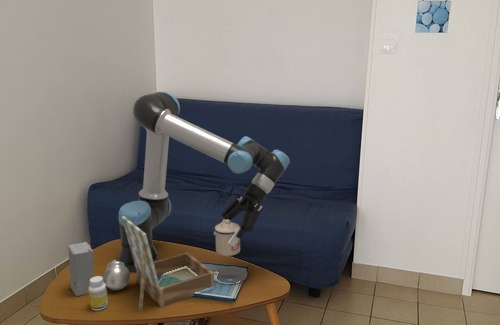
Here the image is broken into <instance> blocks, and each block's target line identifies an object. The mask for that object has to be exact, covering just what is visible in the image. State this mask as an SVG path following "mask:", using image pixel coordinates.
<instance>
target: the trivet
mask: <svg viewBox="0 0 500 325" xmlns="http://www.w3.org/2000/svg"><path fill="white" fill-rule="evenodd" d="M215 271H217V272H219V273H218V276H217V279H218V280H219V281H221V282H225V283H236V282H239V281H242V282H241V283H244V282H245V281H246V280H247V277H248V272H247V271H246V269H244V268H242V267H239V266H233V265H232V266H223V267H221V268H218V269H216V270H215ZM215 275H217V274H215Z"/></svg>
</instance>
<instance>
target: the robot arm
mask: <svg viewBox="0 0 500 325" xmlns="http://www.w3.org/2000/svg"><path fill="white" fill-rule="evenodd" d="M180 111H181V106H180V102H179V100H178V99H177V97H176V96H175V95H174V94H172V93H170V92H167V91H157V92H154V93H150V94H144V95H142V96H140V97H139V98H137V100H136V101H135V103H134V104H133V108H132V113H133V117H134V119H135V121H136V122H137V123H138V124H139V125H140V126H141V127H142V128H144V129H145V130H146V140H145V142H146V143H145V152H144V154H145V156H144V158H145V159H144V170H143V171H144V172H143V185H142V189H140V191H138V196H137V198H138V200H134V201H131V202H127V203H125V204H123V205H122V206H121V207H120V209H119V210H118V222H119V223H118V224H119V234H120V244H121V246H120V251H119V254H118V258H117V260H118V261H121V262H123V263H124V265H125V266H126V267H127V268H128V270H129V272H130V273H137V271H136V267H135V264H134V260H133V256H132V253H131V249H130V245H129V242H128V238H127V234H126V231H125V227H124V224H123V220H122V217H123V216H124V217H126V218H127V219H128V220H129V221H131V222H132V223H133V224H134V225H136V226H137V227H138V228H139V229H141V230H142V231H143V232H144V233H146V236H147V240H148V243H149V247H150V251H151V255H152V259H153V262H154V261H158V260H159V254H158V251H157V250H156V247H155V245H154V243H153V230H154V228H156V227H157V226H159V225H160V224H161V223H163V222H164V221H165V220H166V219H168V216H170V213H171V210H172V203H171V200H170V199H169V193H168V192H167V190H166V189H165V188H166V179H167V166H168V154H169V144H170V138H172V139H173V140H175V141H177V142H179V143H182V144H183V145H185V146H188V147H190V148H192V149H194V150H196V151H198V152H200V153H203V154H205V155H207V156H208V157H211V158H213V159H215V160H218V162H222V163H223V164H225V165H227V166H228V168H229V169H230V171H231V172H232V173H234V174H238V175H239V174H243V173H245V172H247V171H249V170H250V169H251V168H252V166H254V167H255V168H257V169H258V170H259V171H258V172H257V173H256V174H255V176H254V177H253V179H252V180H251V183H250V184H249V185H248V186H247V188H246V189H245V194H244V195H243V196H241V195H240V194H238V195H236V197H235V199H234V200H233V201H232V202H231V203H230V204H229V206H227V208H226V209H225V210H223V212H222V213H221V217H222V220H221V221H220V223H223V222H224V221H225V220H226V219H229V220H230V221H231V220H233V219H234V218H235V217H236V216H237V215H239V214H241V212H244V216H243V219H242V221H241V225H239V227H238V229H237V230H236V231H235V233H234V234H233V236H232V237H231V239H230V240H229V241H228V243H229V244H230V245H231V246H233V247H234V246H235V245H236V243H237V242H238V240H239V239H240V240H241V239H242V238H243V236H244V234H245V233H246V232H250V233H251V232H252V231H253V228H254V227H255V224H256V222H257V220H258V218H259V217H260V214H261V212H263V211H264V206H262V205H261V203H264V201H265V199H266V198H267V197H268V194H270V192H271V191H272V189H273V188H274V187H275V185H276V184H277V183H278V181H279V180H280V178H281V177H282V176H283V174H284V173H285V171H286V169H287V168H288V166H289V164H290V162H291V160H290V158H289V156H288V155H287V154H286V153H284V151H281V150H279V149H274V150H273V151H270V150H269V149H267V148H265V147H264V146H262V145H260V144H259V143H258V142H256V141H255V140H254V139H252V138H251V137H249V136H247V135H246V136H243V137H242V138H241V139H240V140H239V141H238V143H237V144H236V143H234V142H231V141H230V140H228V139H226V138H223V137H221V136H219V135H216V134H214V133H213V132H211V131H208V130H206V129H205V128H203V127H200V126H198V125H195V124H193V123H191V122H189V121H187V120H185V119H183V118H181V117H179V115H180ZM213 235H214V236H215V231H214V232H213Z"/></svg>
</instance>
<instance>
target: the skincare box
mask: <svg viewBox="0 0 500 325" xmlns="http://www.w3.org/2000/svg"><path fill="white" fill-rule="evenodd" d="M67 248H68V262H69V263H68V264H69V265H68V266H69V283H70V284H69V286H70V289H71V290H72V292H73V294H74V295H75V297H80V296H83V295H89V289H88V288H89V286H90V279H91V278H92V277H95V271H94V269H95V268H94V264H95V263H94V250H93V249H92V247H91V245H90V244H89V243H88V242H87V241H84V242H79V243H73V244H68V247H67Z"/></svg>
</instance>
